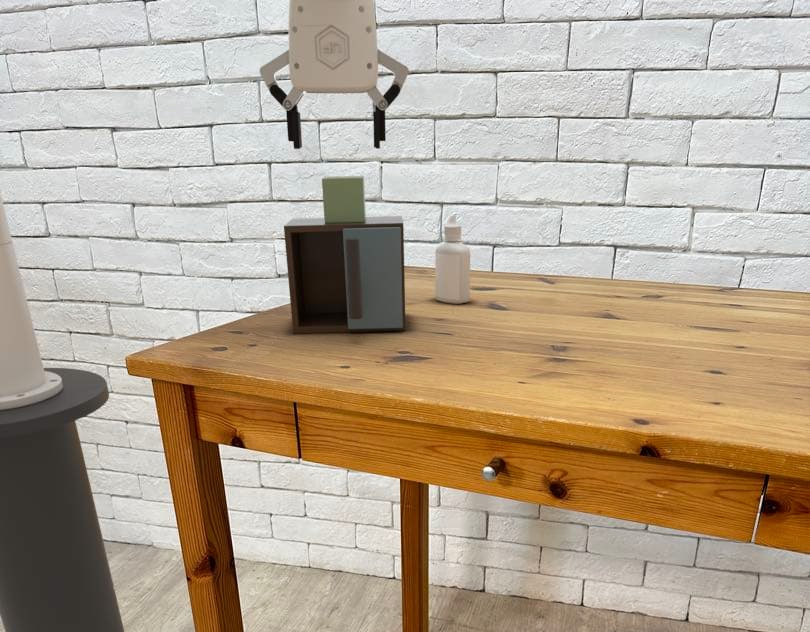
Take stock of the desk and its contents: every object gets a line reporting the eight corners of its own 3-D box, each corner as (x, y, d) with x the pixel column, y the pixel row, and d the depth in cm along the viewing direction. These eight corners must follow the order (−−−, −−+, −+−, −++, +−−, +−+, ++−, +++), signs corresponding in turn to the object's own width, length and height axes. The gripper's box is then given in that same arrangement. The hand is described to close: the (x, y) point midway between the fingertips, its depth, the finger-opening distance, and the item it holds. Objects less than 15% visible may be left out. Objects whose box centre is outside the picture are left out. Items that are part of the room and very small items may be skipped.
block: (364, 222, 95) (363, 177, 93) (324, 223, 95) (321, 178, 93) (365, 218, 100) (364, 175, 97) (327, 219, 100) (324, 176, 97)
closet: (405, 330, 100) (403, 223, 93) (293, 333, 99) (283, 225, 93) (404, 316, 108) (402, 215, 101) (300, 318, 107) (291, 218, 101)
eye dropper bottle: (443, 305, 113) (444, 218, 108) (433, 298, 118) (433, 214, 113) (471, 303, 114) (473, 216, 109) (460, 296, 119) (461, 213, 113)
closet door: (403, 338, 93) (401, 232, 88) (346, 339, 93) (340, 234, 88) (402, 326, 99) (400, 226, 93) (348, 328, 99) (343, 228, 93)
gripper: (247, -31, 82) (261, 149, 90) (409, -31, 82) (409, 148, 90) (257, -18, 89) (270, 148, 96) (407, -18, 89) (407, 148, 97)
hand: (337, 148), depth 93 cm, fingers open, 9 cm apart
